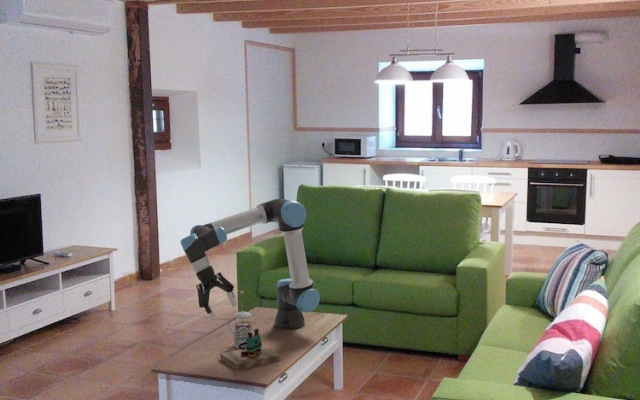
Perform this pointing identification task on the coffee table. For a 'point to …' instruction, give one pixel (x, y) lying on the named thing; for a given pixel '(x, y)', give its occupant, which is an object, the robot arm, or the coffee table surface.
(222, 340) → the coffee table surface
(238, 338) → the white plunger jar
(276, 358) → the walnut stand
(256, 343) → the binoculars
